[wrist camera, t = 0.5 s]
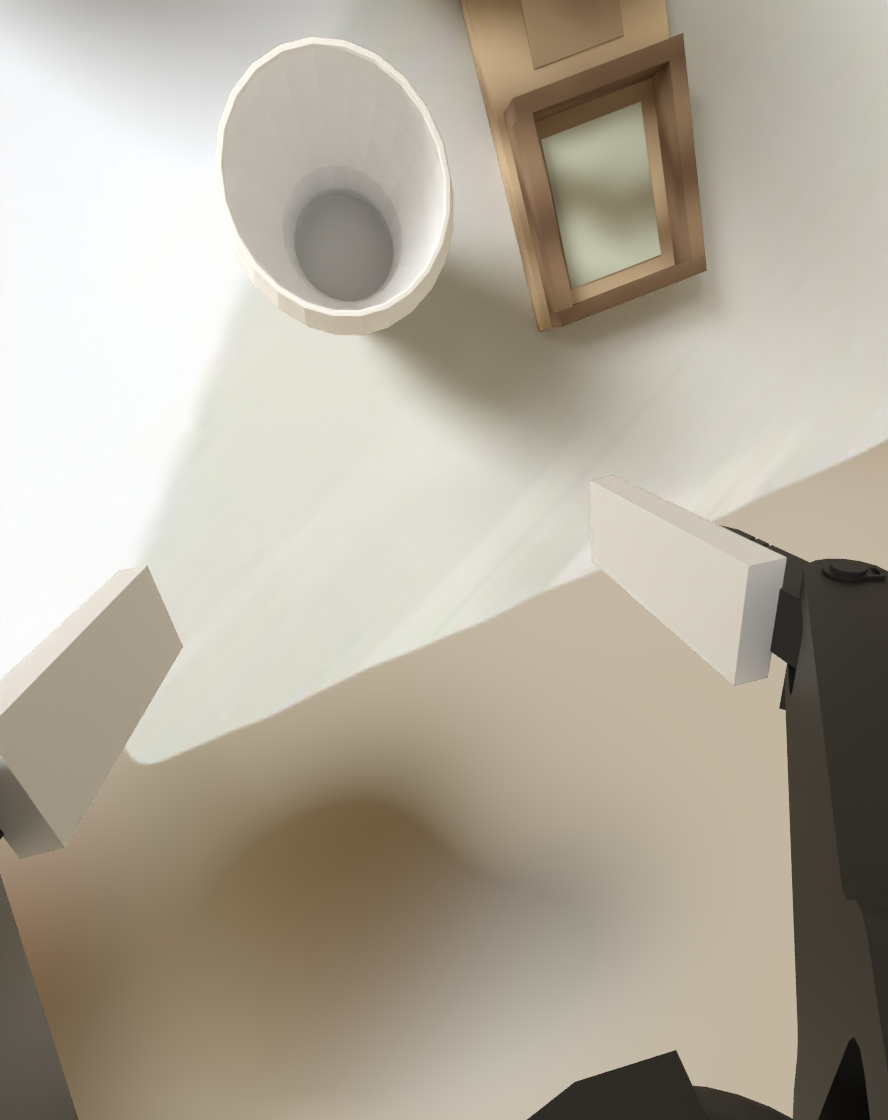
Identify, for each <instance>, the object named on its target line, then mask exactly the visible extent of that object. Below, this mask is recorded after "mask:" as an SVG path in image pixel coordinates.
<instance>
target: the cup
mask: <svg viewBox="0 0 888 1120" xmlns="http://www.w3.org/2000/svg"><path fill="white" fill-rule="evenodd" d="M215 170H216V183H217V190H218V197H219V204H220V211H221V218H222V222H223V224H224V227H225V230H226V232H227V235H228V238H229V240H230V243H231V246H232V248H233V251H234V254H235V256H236V257H237V259H238V260H239V262H240V263H241V265H242V266H243V268H244V270H245V271H246V273H247V274H248V276H249V277H250V279H251V280H252V282H253V283H254V285H255V286H256V287H257V288H258V289H259V290H260V291H261V292H262V293H263V294H264V295H265V296H266V297H267V298H268V299H269V300H270V301H271V302H272V303H273V304H274V305H275V306H276V307H277V308H279V309H280V310H282V311H283V312H285V313H287V314H288V315H290V316H292V317H293V318H295V319H297V320H298V321H300V322H302V323H303V324H305V325H307V326H308V327H310V328H314V329H317V330H321V331H324V332H327V333H331V334H334V335H365V334H368V333H372V332H375V331H379V330H382V329H386V328H388V327H390V326H391V325H393V324H394V323H396V322H397V321H399V320H401V319H402V318H404V317H405V316H407V315H408V314H410V313H411V312H412V311H413V310H414V309H415V308H416V307H417V306H418V305H419V303H420V302H421V301H422V300H423V299H424V298H425V297H426V295H427V294H428V293H429V292H430V291H431V290H432V288H433V286H434V284H435V282H436V280H437V278H438V276H439V274H440V272H441V270H442V268H443V266H444V264H445V262H446V258H447V254H448V250H449V245H450V241H451V237H452V233H453V189H452V182H451V176H450V172H449V167H448V162H447V157H446V152H445V147H444V143H443V140H442V138H441V136H440V134H439V131H438V129H437V127H436V125H435V122H434V120H433V118H432V115H431V113H430V111H429V109H428V107H427V106H426V104H425V103H424V102H423V100H422V99H421V98H420V96H419V95H418V94H417V92H416V91H415V90H414V88H413V87H412V85H411V84H410V83H409V81H408V80H407V79H406V78H405V77H404V76H403V75H402V74H401V73H399V72H398V71H397V70H396V69H395V68H393V67H392V66H391V65H390V64H389V63H387V62H386V61H385V60H384V59H382V58H381V57H380V56H379V55H378V54H375V53H373V52H371V51H369V50H366V49H364V48H362V47H360V46H357V45H355V44H353V43H351V42H348V41H346V40H338V39H328V38H318V37H309V38H305V39H301V40H297V41H293V42H289V43H285V44H281V45H279V46H277V47H276V48H274V49H273V50H271V51H270V52H269V53H267V54H266V55H264V56H263V57H261V58H260V59H258V60H257V61H255V62H254V63H253V64H251V66H250V67H249V68H248V70H247V71H246V73H245V74H244V75H243V77H242V78H241V79H240V81H239V82H238V83H237V85H236V86H235V87H234V89H233V90H232V91H231V93H230V96H229V99H228V102H227V105H226V107H225V110H224V113H223V116H222V119H221V121H220V124H219V127H218V138H217V149H216V161H215Z"/></svg>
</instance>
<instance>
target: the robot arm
mask: <svg viewBox="0 0 888 1120" xmlns="http://www.w3.org/2000/svg"><path fill="white" fill-rule="evenodd" d="M590 511H591V556H592V562H593V563H594V564H596V565H597V566H598V567H599V568H600V569H601V570H602V571H603V572H605V573H606V574H607V575H608V576H609V577H610V578H612V579H613V580H614V581H615V582H616V583H617V584H618V585H619V586H621V587H622V588H623V589H624V590H625V591H627V593H629V594H630V595H631V596H632V597H633V598H634V599H635V600H637V601H638V602H639V603H640V604H641V605H642V606H643V607H645V608H646V609H647V610H648V611H649V612H650V613H651V614H653V615H654V616H655V617H656V618H657V619H658V620H659V621H661V622H662V623H663V624H664V625H665V626H666V627H667V628H669V629H670V630H671V631H672V632H673V633H674V634H675V635H677V636H678V637H679V638H680V639H681V640H682V641H683V642H684V643H686V644H687V645H688V646H689V647H690V648H691V649H692V650H694V651H695V652H696V653H697V654H698V655H699V656H700V657H702V658H703V659H704V660H705V661H706V662H707V663H709V664H710V665H711V666H712V667H713V668H714V669H715V670H716V671H718V672H719V673H720V674H721V675H722V676H723V677H724V678H725V679H727V680H728V681H729V682H730V683H731V684H732V685H734V686H735V685H739V684H743V683H747V682H751V681H756V680H760V679H764V678H768V673H769V667H770V660H771V654H772V653H774V654H775V655H777V656H778V657H780V658H781V659H782V660H784V661H785V662H787V669H786V674H785V679H784V686H783V691H782V697H781V702H780V709H784V710H786V729H787V754H788V755H787V757H788V783H789V810H790V834H791V835H790V836H791V860H792V861H791V863H792V889H793V915H794V942H795V967H796V968H795V969H796V995H797V1019H798V1020H797V1022H798V1051H797V1064H796V1075H795V1086H794V1103H793V1104H794V1105H793V1119H791V1118H790V1117H788V1116H786V1115H784V1114H782V1113H780V1112H778V1111H776V1110H775V1109H773V1108H771V1107H769V1106H766V1105H764V1104H761V1103H758V1102H755V1101H753V1100H751V1099H748V1098H745V1097H743V1096H740V1095H737V1094H733V1093H729V1092H725V1091H721V1090H717V1089H713V1088H708V1087H701V1086H692V1084H691V1082H690V1080H689V1077H688V1075H687V1073H686V1071H685V1069H684V1066H683V1064H682V1062H681V1060H680V1058H679V1056H678V1053H677V1051H676V1050H675V1051H672V1052H669V1053H666V1054H662V1055H659V1056H656V1057H653V1058H650V1059H646V1060H643V1061H640V1062H637V1063H634V1064H631V1065H628V1066H624V1067H622V1068H618V1069H615V1070H612V1071H609V1072H605V1073H602V1074H599V1075H596V1076H593V1077H589V1078H586V1079H583V1080H580V1081H577V1082H574V1083H573V1084H572V1085H570V1087H568V1088H567V1089H565V1090H564V1091H563V1092H562V1093H560V1094H559V1095H558V1096H557V1097H555V1098H554V1099H553V1100H551V1101H550V1102H549V1103H548V1104H546V1105H545V1106H544V1107H543V1108H541V1109H540V1110H539V1111H538V1112H536V1113H535V1114H534V1115H532V1116H531V1117H530V1118H529V1119H527V1120H888V571H886V570H884V569H882V568H880V567H878V566H875V565H872V564H868V563H864V562H861V561H854V560H847V559H823V560H816V561H813V562H811V563H809V562H807V561H805V560H803V559H801V558H799V557H797V556H794V555H792V554H790V553H788V552H785V551H784V550H781V549H779V548H777V547H775V546H773V545H772V546H769V544H768V543H766V542H764V541H762V540H760V539H755V537H753V536H751V535H748V534H747V533H744V532H742V531H740V530H737V529H733V528H729V527H724V526H720V525H717V524H715V523H713V522H711V521H709V520H707V519H704V518H702V517H700V516H698V515H696V514H694V513H692V512H690V511H687V510H685V509H683V508H681V507H679V506H677V505H675V504H673V503H671V502H668V501H666V500H664V499H662V498H660V497H658V496H656V495H654V494H652V493H649V492H647V491H645V490H643V489H641V488H639V487H637V486H635V485H632V484H630V483H628V482H626V481H624V480H622V479H620V478H618V477H616V476H608V477H603V478H598V479H593V480H590ZM182 647H183V646H182V644H181V641H180V639H179V637H178V635H177V632H176V630H175V628H174V625H173V623H172V621H171V619H170V616H169V614H168V612H167V609H166V607H165V605H164V603H163V600H162V598H161V596H160V593H159V591H158V589H157V587H156V584H155V582H154V580H153V577H152V575H151V573H150V571H149V568H148V566H142V567H136V568H131V569H126V570H121V571H118V572H117V573H116V574H115V575H114V576H113V577H112V578H111V579H110V580H108V581H107V582H106V583H105V584H104V585H103V586H102V587H101V588H100V589H99V590H98V591H97V592H95V593H94V594H93V595H92V596H91V597H90V598H89V599H88V600H87V601H86V602H85V603H84V604H82V605H81V606H80V607H79V608H78V609H77V610H76V611H75V612H74V613H73V614H72V615H71V616H69V617H68V618H67V619H66V620H65V621H64V622H63V623H62V624H61V625H60V626H59V627H58V628H56V629H55V630H54V631H53V632H52V633H51V634H50V635H49V636H48V637H47V638H46V639H45V640H43V641H42V642H41V643H40V644H39V645H38V646H37V647H36V648H35V649H34V650H33V651H32V652H30V653H29V654H28V655H27V656H26V657H25V658H24V659H23V660H22V661H21V662H20V663H19V664H17V665H16V666H15V667H14V668H13V669H12V670H11V671H10V672H9V673H8V674H7V675H5V676H4V677H3V678H2V679H1V680H0V839H1V838H2V836H3V837H4V838H5V840H6V841H7V842H8V843H9V845H10V846H11V847H12V849H13V850H14V851H15V853H16V854H17V855H18V856H19V858H25V857H29V856H33V855H37V854H41V853H45V852H49V851H54V850H57V849H62V848H65V847H66V845H67V843H68V842H69V840H70V838H71V837H72V835H73V833H74V832H75V830H76V828H77V826H78V824H79V823H80V821H81V820H82V818H83V816H84V814H85V813H86V811H87V809H88V808H89V806H90V804H91V803H92V801H93V799H94V797H95V796H96V794H97V792H98V791H99V789H100V787H101V785H102V784H103V782H104V780H105V779H106V777H107V775H108V774H109V772H110V770H111V768H112V767H113V765H114V763H115V762H116V760H117V758H118V756H119V755H120V753H121V751H122V750H123V748H124V746H125V745H126V743H127V741H128V739H129V738H130V736H131V734H132V733H133V731H134V729H135V727H136V726H137V724H138V722H139V721H140V719H141V717H142V716H143V714H144V712H145V710H146V709H147V707H148V705H149V704H150V702H151V700H152V698H153V697H154V695H155V693H156V692H157V690H158V688H159V687H160V685H161V683H162V681H163V680H164V678H165V676H166V675H167V673H168V671H169V669H170V668H171V666H172V664H173V663H174V661H175V659H176V657H177V656H178V654H179V652H180V651H181V649H182ZM0 1120H78V1117H77V1114H76V1111H75V1108H74V1105H73V1101H72V1098H71V1095H70V1092H69V1089H68V1086H67V1083H66V1079H65V1076H64V1073H63V1070H62V1067H61V1064H60V1061H59V1057H58V1054H57V1051H56V1048H55V1045H54V1042H53V1039H52V1035H51V1032H50V1029H49V1026H48V1023H47V1020H46V1017H45V1014H44V1010H43V1007H42V1004H41V1001H40V998H39V995H38V992H37V988H36V985H35V983H34V979H33V976H32V973H31V970H30V967H29V963H28V960H27V957H26V954H25V951H24V948H23V944H22V941H21V939H20V935H19V932H18V929H17V925H16V922H15V919H14V916H13V913H12V910H11V907H10V904H9V901H8V897H7V894H6V891H5V888H4V885H3V882H2V878H1V875H0Z"/></svg>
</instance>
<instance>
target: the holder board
mask: <svg viewBox="0 0 888 1120" xmlns="http://www.w3.org/2000/svg"><path fill="white" fill-rule="evenodd" d="M460 2H461V6H462V11H463V15H464V19H465V23H466V27H467V31H468V36H469V40H470V44H471V48H472V52H473V57H474V61H475V65H476V69H477V73H478V77H479V82H480V86H481V90H482V94H483V98H484V103H485V107H486V111H487V115H488V119H489V123H490V128H491V132H492V136H493V140H494V144H495V148H496V153H497V157H498V161H499V165H500V169H501V174H502V178H503V182H504V186H505V190H506V194H507V199H508V203H509V207H510V211H511V215H512V219H513V224H514V228H515V232H516V236H517V240H518V245H519V249H520V253H521V257H522V261H523V265H524V270H525V274H526V278H527V282H528V286H529V290H530V295H531V299H532V303H533V307H534V311H535V316H536V320H537V324H538V328H539V331H545V330H548V329H551V328H555V327H562V326H565V325H567V324H570V323H573V322H575V321H578V320H580V319H583V318H585V317H588V316H591V315H593V314H596V313H598V312H601V311H603V310H606V309H609V308H611V307H614V306H616V305H619V304H621V303H624V302H627V301H629V300H632V299H634V298H637V297H639V296H642V295H645V294H647V293H650V292H652V291H655V290H657V289H660V288H663V287H665V286H668V285H670V284H673V283H675V282H678V281H681V280H683V279H686V278H688V277H691V276H693V275H696V274H699V273H701V272H704V271H706V260H705V250H704V240H703V230H702V220H701V210H700V200H699V190H698V180H697V170H696V160H695V150H694V140H693V130H692V120H691V109H690V99H689V89H688V79H687V69H686V59H685V49H684V39H683V33H682V34H680V35H677V36H674V37H672V38H670V36H669V27H668V17H667V8H666V0H460Z"/></svg>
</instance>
